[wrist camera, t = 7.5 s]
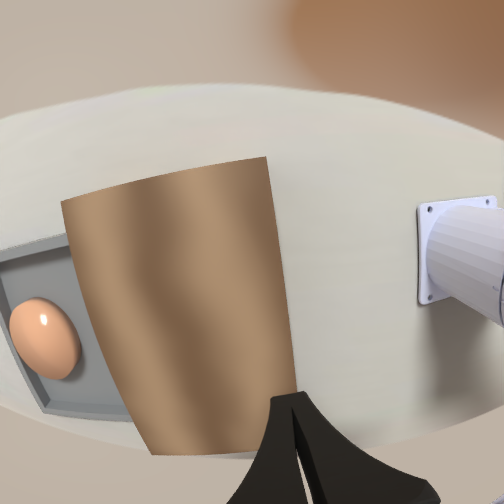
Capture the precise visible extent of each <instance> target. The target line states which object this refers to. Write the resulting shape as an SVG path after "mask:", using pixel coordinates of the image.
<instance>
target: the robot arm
mask: <svg viewBox="0 0 504 504" xmlns="http://www.w3.org/2000/svg"><path fill="white" fill-rule="evenodd" d="M486 201H487V202H486ZM428 207H429V208H430V211H429V212H428V211H427V209H428ZM417 213H418V231H419V297H418V300H419V302H420V303H421V304H423V305H425V304H429V303H432V302H435V301H439V300H442V299H445V298H448V297H451V296H452V297H454V298H456V299H457V300H459V301H461V302H462V303H464V304H466V305H467V306H469V307H471V308H472V309H474V310H476V311H477V312H479V313H481V314H482V315H484V316H486V317H487V318H489V319H490V320H492V321H494V322H495V323H497V324H498V325H500V326H501V327H503V328H504V209H503V208H497V199H496V197H495V196H482V197H473V198H463V199H454V200H446V201H437V202H429V203H421V204H420V205H419V206H418V209H417ZM429 295H430V297H429V299H428V296H429ZM296 449H297V452H298V455H299V459H300V461H301V465H302V468H303V471H304V474H305V477H306V480H307V483H308V486H309V489H310V492H311V496H312V500H313V504H440V502H441V500H440V498H439V496H438V494H437V492H436V491H435V490H434V488H433V487H432V486H431V485H430V484H429V483H428V481H427V480H424V479H421V478H418V477H415V476H412V475H409V474H407V473H404V472H402V471H399V470H397V469H395V468H392V467H390V466H388V465H386V464H384V463H383V462H381V461H379V460H377V459H375V458H373V457H372V456H370V455H368V454H367V453H365V452H364V451H362V450H361V449H360V448H358V447H357V446H355V445H354V444H353V443H351V442H350V441H349V440H348V439H347V438H345V437H344V436H343V435H342V434H341V433H340V432H339V431H338V430H336V429H335V428H334V427H333V426H332V425H331V424H330V423H329V421H328V420H327V419H326V418H325V417H324V416H323V415H322V414H321V413H320V411H319V410H318V409H317V408H316V406H315V405H314V404H313V402H312V401H311V400H310V398H309V397H308V395H307V393H306V392H304V391H301V392H296V393H291V394H285V395H279V396H273V397H272V398H271V399H270V411H269V417H268V422H267V426H266V429H265V433H264V436H263V439H262V442H261V445H260V447H259V450H258V452H257V455H256V457H255V459H254V461H253V463H252V465H251V468H250V469H249V471H248V473H247V474H246V476H245V478H244V480H243V481H242V483H241V484H240V486H239V488H238V489H237V490H236V492H235V493H234V494H233V496H232V497H231V498H230V500H229V501H228V502H227V504H308V502H307V497H306V493H305V489H304V485H303V481H302V477H301V473H300V469H299V464H298V460H297V452H296ZM490 504H504V494H503V495H502V496H500V497H499V498H497V499H496V500H495V501H493V502H492V503H490Z"/></svg>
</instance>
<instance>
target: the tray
mask: <svg viewBox="0 0 504 504" xmlns="http://www.w3.org/2000/svg"><path fill="white" fill-rule="evenodd" d="M33 297H42V298H46V299H48V300H50V301H52V302H54V303H55V304H56V305H58V306H59V307H60V308H61V309H62V310H63V311H64V312H65V313H66V314H67V315H68V317H69V318H70V319H71V321H72V322H73V324H74V326H75V328H76V330H77V332H78V335H79V338H80V342H81V357H80V360H79V362H78V363H77V365H76V366H75V367H74V368H73V370H72V371H71V372H70V373H69V374H68V376H66V377H65V378H63V379H58V380H54V379H49V378H46V377H43V376H41V375H40V374H38V373H36V372H35V371H34V370H32V369H31V368H30V367H29V366H28V365H27V364H26V363H25V362H24V360H23V359H22V358H21V356H20V355H19V353H18V352H17V350H16V348H15V346H14V344H13V341H12V338H11V334H10V317H11V314H12V312H13V310H14V309H15V308H16V307H17V306H19V305H20V304H22V303H23V302H25V301H27V300H28V299H30V298H33ZM0 325H1V327H2V330H3V333H4V335H5V338H6V340H7V343H8V345H9V347H10V350H11V352H12V354H13V356H14V359H15V361H16V363H17V365H18V367H19V369H20V371H21V373H22V375H23V377H24V379H25V381H26V383H27V385H28V387H29V389H30V391H31V393H32V395H33V396H34V398H35V400H36V402H37V403H38V405H39V407H40V409H41V410H42V412H43V413H45V414H52V415H59V416H66V417H74V418H84V419H95V420H109V421H130V422H133V420H132V418H131V416H130V414H129V412H128V410H127V408H126V406H125V404H124V402H123V400H122V398H121V396H120V394H119V391H118V389H117V387H116V385H115V383H114V380H113V378H112V376H111V373H110V371H109V369H108V366H107V364H106V361H105V359H104V357H103V354H102V351H101V349H100V346H99V344H98V341H97V338H96V336H95V333H94V330H93V327H92V324H91V321H90V318H89V315H88V312H87V309H86V306H85V303H84V300H83V296H82V293H81V290H80V286H79V283H78V279H77V275H76V272H75V268H74V264H73V260H72V256H71V251H70V247H69V243H68V238H67V233H63V234H59V235H56V236H52V237H48V238H44V239H40V240H37V241H33V242H29V243H26V244H22V245H19V246H15V247H12V248H8V249H5V250H1V251H0Z"/></svg>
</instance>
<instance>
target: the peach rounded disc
mask: <svg viewBox="0 0 504 504" xmlns="http://www.w3.org/2000/svg"><path fill="white" fill-rule="evenodd" d="M10 334H11V338H12V341H13V344H14V346H15V348H16V350H17V352H18V353H19V355H20V356H21V358H22V359H23V360H24V362H25V363H26V364H27V365H28V366H29V367H30V368H31V369H32V370H34V371H35V372H36V373H38V374H40V375H41V376H43V377H46V378H49V379H54V380H58V379H63V378H65V377H66V376H68V374H69V373H70V372H71V371H72V370H73V368H74V367H75V366H76V365H77V363H78V362H79V360H80V357H81V342H80V338H79V335H78V332H77V330H76V328H75V326H74V324H73V322H72V321H71V319H70V318H69V317H68V315H67V314H66V313H65V312H64V311H63V310H62V309H61V308H60V307H59V306H58V305H56V304H55V303H54V302H52V301H50V300H48V299H46V298H42V297H33V298H30V299H28V300H27V301H25V302H23V303H22V304H20V305H19V306H17V307H16V308H15V309H14V310H13V312H12V314H11V317H10Z"/></svg>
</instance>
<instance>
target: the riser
mask: <svg viewBox="0 0 504 504" xmlns="http://www.w3.org/2000/svg"><path fill="white" fill-rule="evenodd" d="M61 207H62V212H63V218H64V223H65V228H66V233H67V238H68V243H69V247H70V251H71V256H72V260H73V264H74V268H75V272H76V275H77V279H78V283H79V286H80V290H81V293H82V296H83V300H84V303H85V306H86V309H87V312H88V315H89V318H90V321H91V324H92V327H93V330H94V333H95V336H96V338H97V341H98V344H99V346H100V349H101V351H102V354H103V357H104V359H105V361H106V364H107V366H108V369H109V371H110V373H111V376H112V378H113V380H114V383H115V385H116V387H117V389H118V391H119V394H120V396H121V398H122V400H123V402H124V404H125V406H126V408H127V410H128V412H129V414H130V416H131V418H132V420H133V422H134V424H135V426H136V428H137V430H138V431H139V433H140V435H141V437H142V439H143V440H144V442H145V444H146V446H147V447H148V449H149V451H150V453H151V454H152V455H212V454H227V453H239V452H248V451H257V450H259V447H260V445H261V442H262V439H263V436H264V433H265V429H266V426H267V422H268V417H269V411H270V399H271V398H272V397H273V396H279V395H285V394H291V393H296V392H297V386H296V377H295V368H294V359H293V350H292V341H291V332H290V324H289V316H288V308H287V300H286V292H285V284H284V276H283V269H282V261H281V254H280V247H279V240H278V232H277V225H276V219H275V212H274V205H273V198H272V192H271V185H270V178H269V172H268V166H267V159H266V157H259V158H252V159H245V160H239V161H233V162H226V163H221V164H215V165H209V166H204V167H198V168H193V169H188V170H183V171H178V172H173V173H168V174H164V175H159V176H155V177H150V178H146V179H142V180H137V181H133V182H129V183H125V184H121V185H117V186H113V187H110V188H106V189H102V190H98V191H95V192H91V193H88V194H84V195H81V196H77V197H74V198H71V199H67V200H64V201H61Z"/></svg>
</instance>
